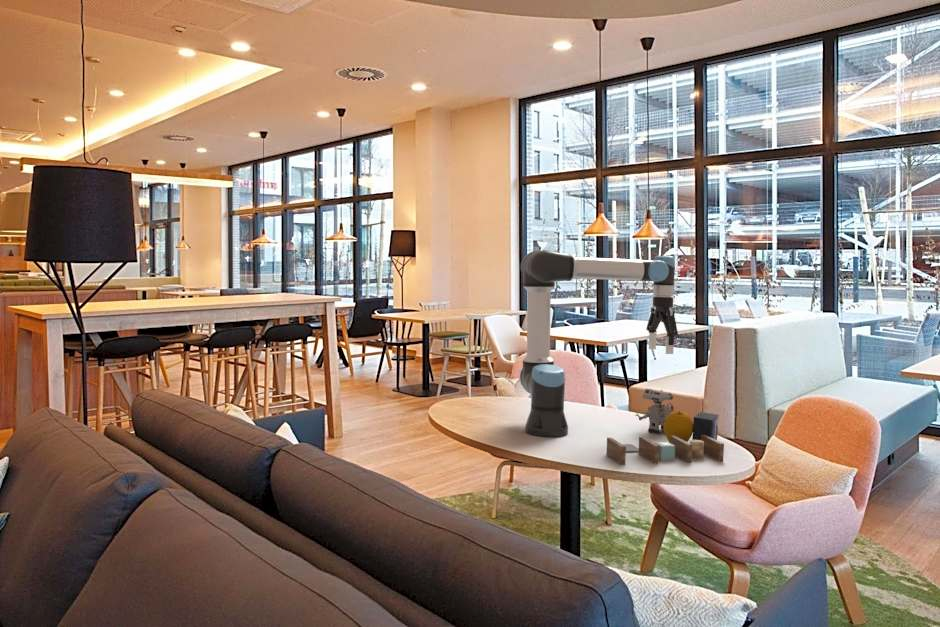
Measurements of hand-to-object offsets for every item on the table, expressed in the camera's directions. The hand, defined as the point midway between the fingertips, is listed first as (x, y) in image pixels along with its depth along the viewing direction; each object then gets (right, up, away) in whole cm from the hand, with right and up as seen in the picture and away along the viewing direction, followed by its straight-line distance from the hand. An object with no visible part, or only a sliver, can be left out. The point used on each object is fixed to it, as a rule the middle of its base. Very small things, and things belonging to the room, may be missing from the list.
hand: (660, 351), depth 264 cm
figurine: (-6, -29, -13) cm, 32 cm away
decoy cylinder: (-2, -31, -46) cm, 56 cm away
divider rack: (-12, -31, -49) cm, 59 cm away
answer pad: (-22, -30, -40) cm, 54 cm away
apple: (-4, -30, -33) cm, 44 cm away
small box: (+6, -30, -33) cm, 45 cm away
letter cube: (-12, -31, -49) cm, 59 cm away
